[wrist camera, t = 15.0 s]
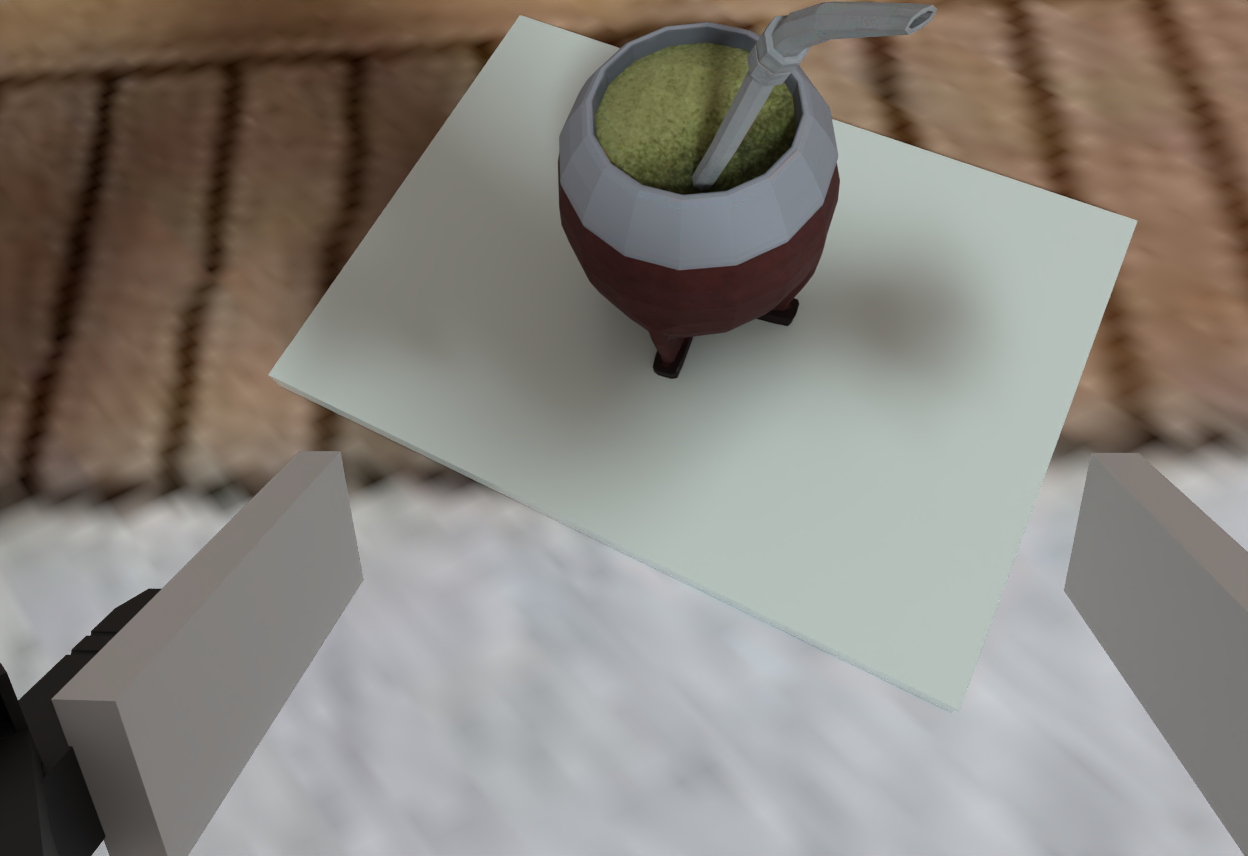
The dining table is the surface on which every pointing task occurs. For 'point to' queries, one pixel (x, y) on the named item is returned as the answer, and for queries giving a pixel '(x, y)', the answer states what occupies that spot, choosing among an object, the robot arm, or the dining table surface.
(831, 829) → the dining table surface
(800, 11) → the mate gourd
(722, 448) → the sage tile
